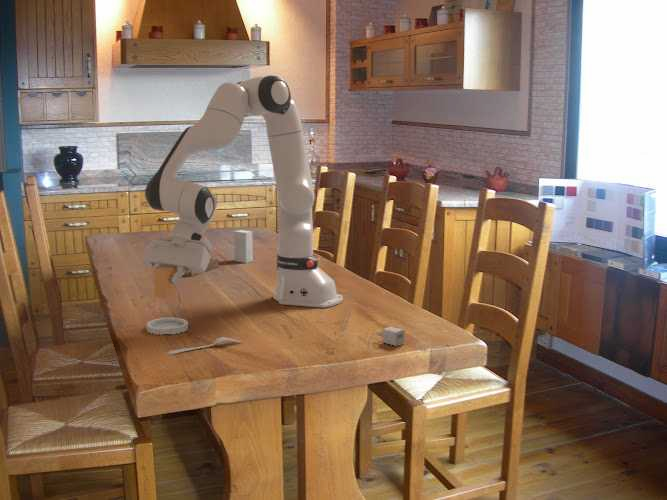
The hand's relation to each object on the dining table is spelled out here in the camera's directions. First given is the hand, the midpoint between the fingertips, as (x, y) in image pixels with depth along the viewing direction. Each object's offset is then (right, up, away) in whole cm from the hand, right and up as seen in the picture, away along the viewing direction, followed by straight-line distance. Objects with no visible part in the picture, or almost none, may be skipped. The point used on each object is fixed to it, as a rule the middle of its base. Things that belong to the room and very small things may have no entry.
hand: (163, 280), depth 212 cm
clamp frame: (-5, +1, +75) cm, 75 cm away
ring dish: (0, -13, +3) cm, 14 cm away
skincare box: (+11, +4, +91) cm, 92 cm away
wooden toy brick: (0, -4, +1) cm, 5 cm away
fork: (+13, -17, -12) cm, 25 cm away
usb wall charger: (+61, -16, -6) cm, 64 cm away
